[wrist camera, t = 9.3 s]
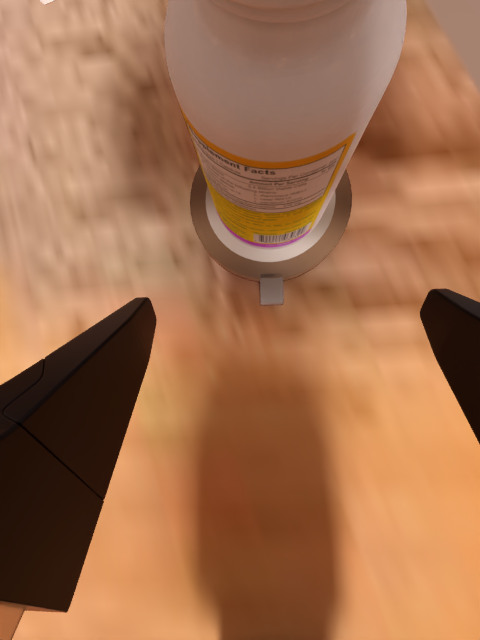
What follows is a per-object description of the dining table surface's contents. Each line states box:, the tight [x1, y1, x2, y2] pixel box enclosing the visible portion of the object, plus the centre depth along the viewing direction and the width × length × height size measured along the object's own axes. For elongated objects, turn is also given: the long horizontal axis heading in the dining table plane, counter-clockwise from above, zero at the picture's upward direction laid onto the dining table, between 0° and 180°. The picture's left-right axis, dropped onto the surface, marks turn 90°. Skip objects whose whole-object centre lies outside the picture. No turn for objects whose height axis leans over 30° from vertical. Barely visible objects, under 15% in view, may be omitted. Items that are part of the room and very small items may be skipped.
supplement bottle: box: [164, 0, 407, 250], centre depth 10 cm, size 7×7×13 cm
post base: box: [190, 165, 352, 305], centre depth 18 cm, size 13×10×1 cm
